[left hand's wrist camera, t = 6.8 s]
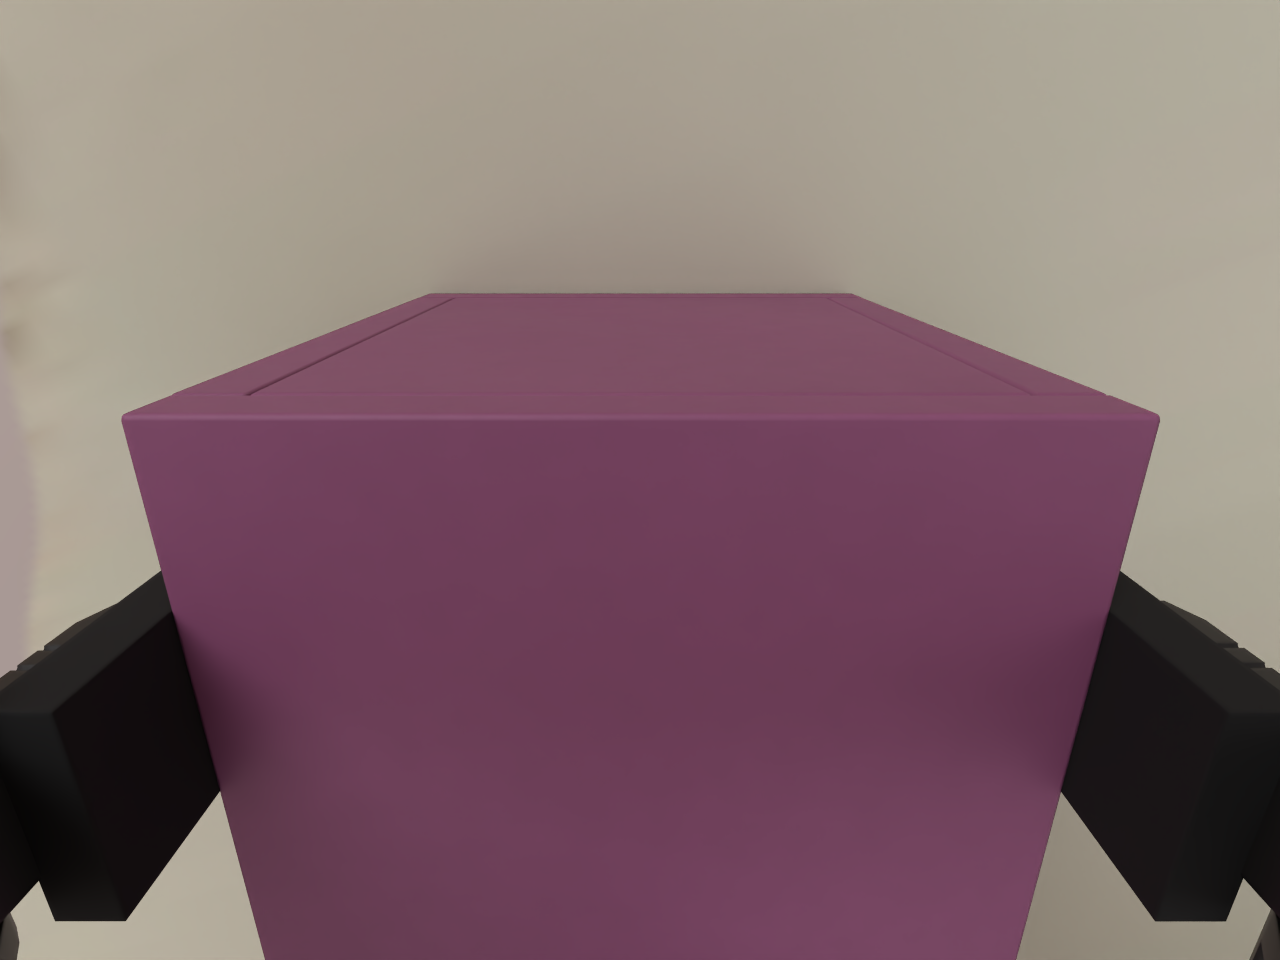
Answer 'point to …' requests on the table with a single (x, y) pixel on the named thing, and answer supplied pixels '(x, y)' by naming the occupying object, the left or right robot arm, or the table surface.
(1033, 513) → the cabinet
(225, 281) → the table surface
